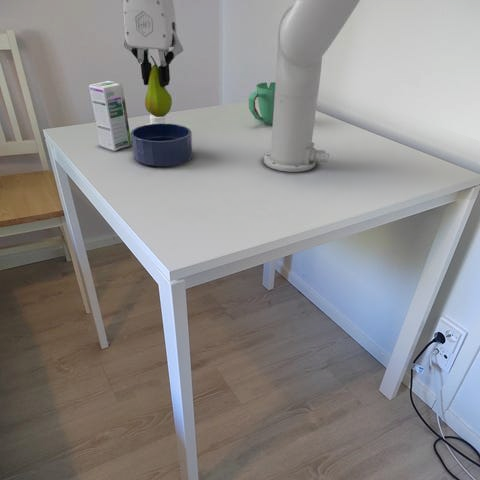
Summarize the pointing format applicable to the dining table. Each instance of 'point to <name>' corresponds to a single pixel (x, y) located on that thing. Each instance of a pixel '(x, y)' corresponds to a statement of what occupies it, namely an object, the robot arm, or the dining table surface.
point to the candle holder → (157, 120)
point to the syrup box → (110, 114)
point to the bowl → (161, 144)
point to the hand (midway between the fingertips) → (156, 83)
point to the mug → (263, 102)
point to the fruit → (157, 95)
